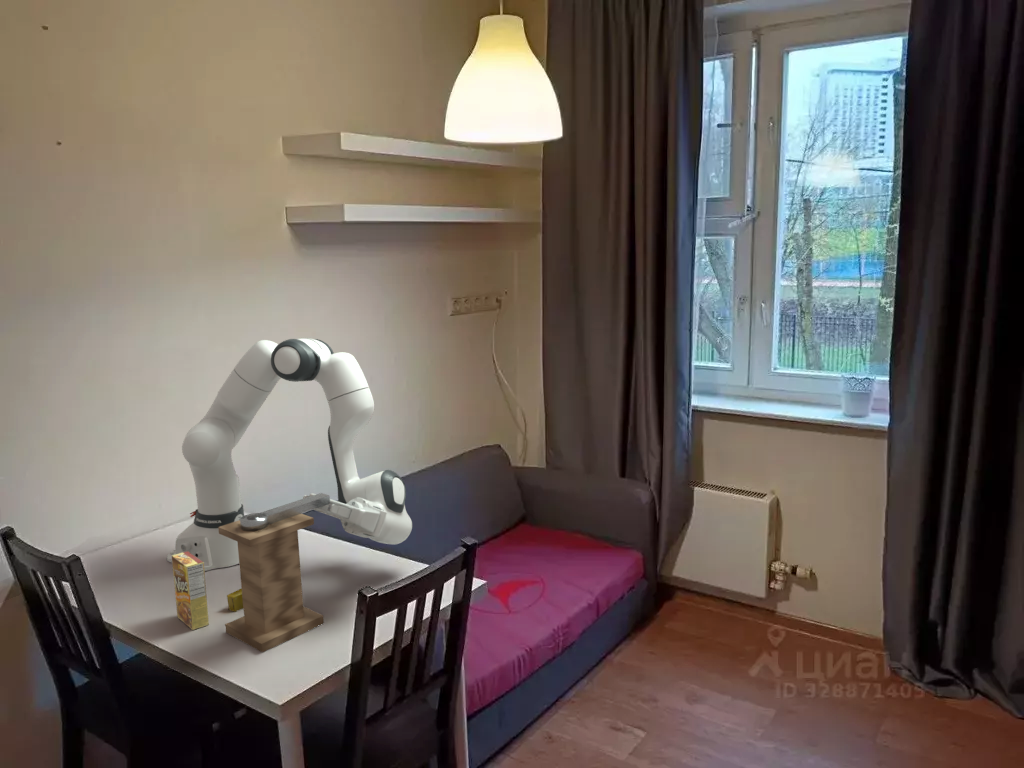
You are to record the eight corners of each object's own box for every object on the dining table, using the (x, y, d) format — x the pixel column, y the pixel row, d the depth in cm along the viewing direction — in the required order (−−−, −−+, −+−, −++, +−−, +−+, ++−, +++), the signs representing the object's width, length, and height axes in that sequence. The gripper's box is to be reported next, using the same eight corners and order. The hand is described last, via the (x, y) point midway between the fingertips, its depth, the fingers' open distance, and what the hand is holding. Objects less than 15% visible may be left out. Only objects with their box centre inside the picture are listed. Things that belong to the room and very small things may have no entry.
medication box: (268, 590, 206) (267, 575, 205) (275, 593, 205) (274, 578, 204) (227, 610, 197) (226, 594, 196) (235, 613, 195) (233, 597, 194)
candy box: (176, 617, 193) (169, 555, 190) (194, 611, 196) (188, 550, 193) (192, 631, 186) (185, 566, 183) (210, 624, 189) (204, 561, 186)
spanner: (318, 499, 196) (317, 491, 195) (333, 504, 192) (332, 496, 192) (235, 527, 179) (234, 518, 179) (250, 533, 176) (249, 523, 175)
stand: (286, 606, 197) (278, 505, 192) (323, 623, 189) (316, 518, 184) (226, 632, 185) (215, 526, 180) (262, 652, 177) (252, 541, 172)
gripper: (336, 495, 210) (295, 481, 199) (391, 513, 197) (350, 498, 186) (327, 519, 208) (285, 506, 198) (382, 539, 195) (340, 526, 185)
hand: (317, 503), depth 192 cm, fingers open, 8 cm apart
